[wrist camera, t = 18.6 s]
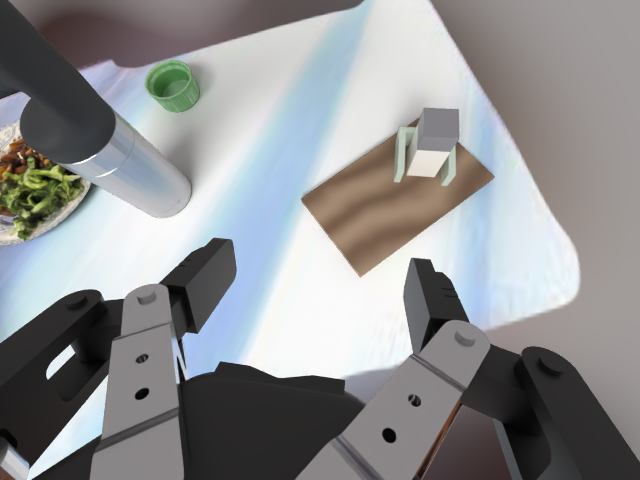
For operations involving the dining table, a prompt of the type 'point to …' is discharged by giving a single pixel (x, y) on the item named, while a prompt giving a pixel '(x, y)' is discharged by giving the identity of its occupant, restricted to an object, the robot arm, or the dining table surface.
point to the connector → (432, 141)
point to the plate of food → (33, 189)
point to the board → (387, 203)
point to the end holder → (401, 141)
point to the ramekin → (172, 85)
